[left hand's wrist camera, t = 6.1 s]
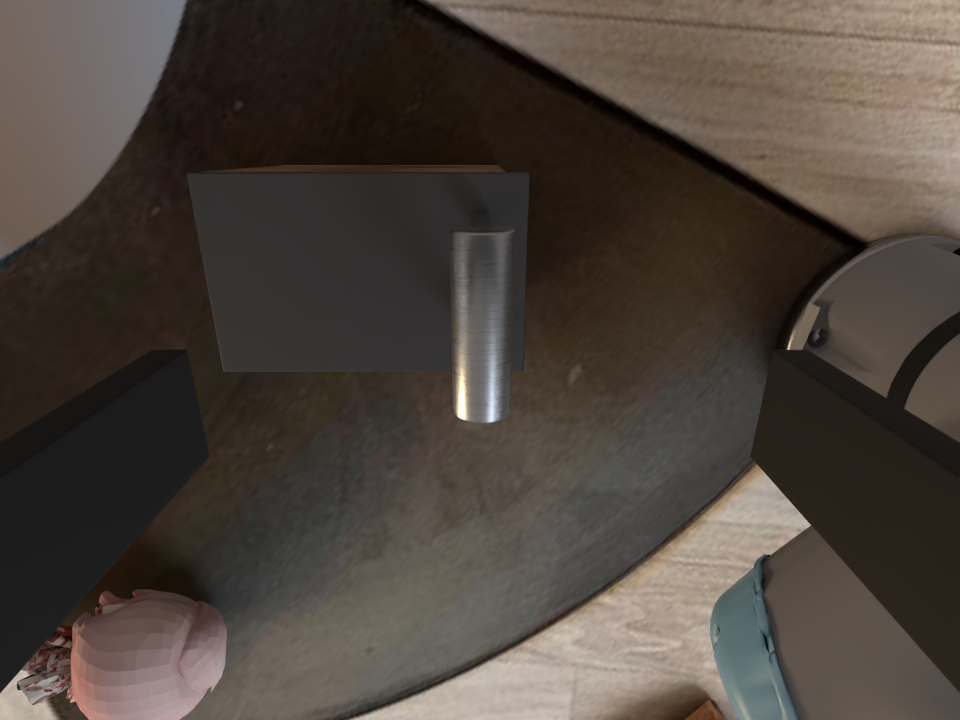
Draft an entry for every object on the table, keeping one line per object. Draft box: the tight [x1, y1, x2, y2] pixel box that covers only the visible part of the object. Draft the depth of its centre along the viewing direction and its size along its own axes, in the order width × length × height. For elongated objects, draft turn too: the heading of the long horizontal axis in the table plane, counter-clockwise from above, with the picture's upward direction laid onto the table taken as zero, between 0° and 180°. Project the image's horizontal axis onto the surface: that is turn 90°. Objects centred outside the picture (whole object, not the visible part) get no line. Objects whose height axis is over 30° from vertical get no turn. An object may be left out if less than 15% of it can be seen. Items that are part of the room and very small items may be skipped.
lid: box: [187, 172, 529, 423], centre depth 21 cm, size 14×9×9 cm, turn 90°
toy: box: [17, 589, 227, 720], centre depth 43 cm, size 12×11×15 cm
